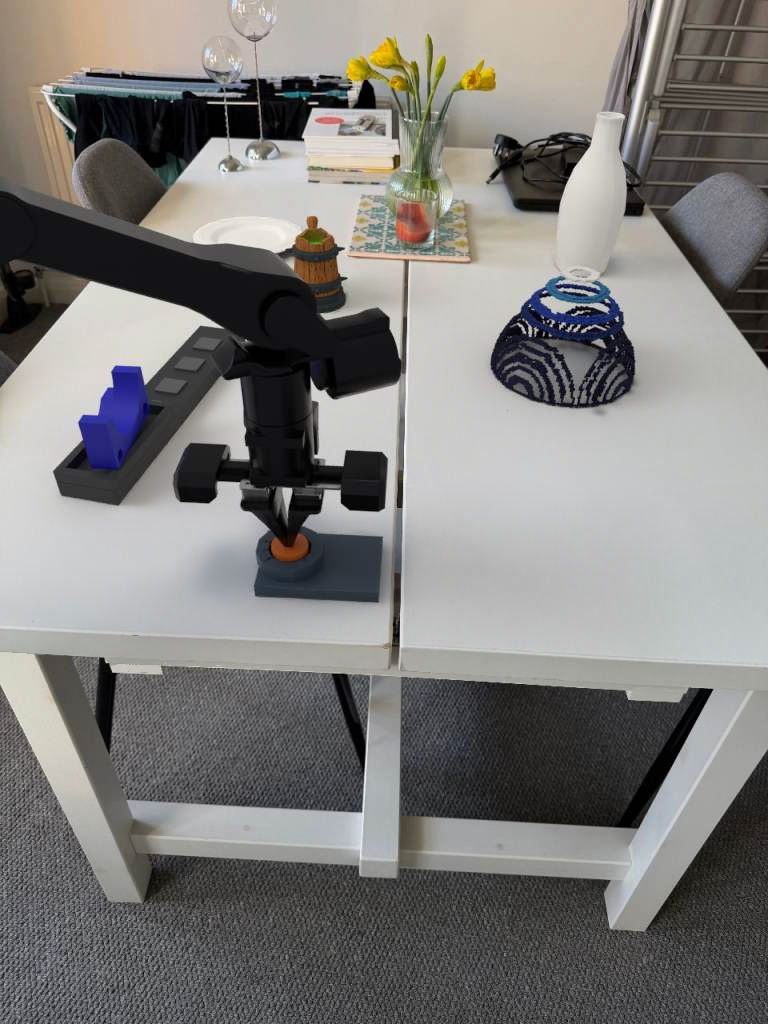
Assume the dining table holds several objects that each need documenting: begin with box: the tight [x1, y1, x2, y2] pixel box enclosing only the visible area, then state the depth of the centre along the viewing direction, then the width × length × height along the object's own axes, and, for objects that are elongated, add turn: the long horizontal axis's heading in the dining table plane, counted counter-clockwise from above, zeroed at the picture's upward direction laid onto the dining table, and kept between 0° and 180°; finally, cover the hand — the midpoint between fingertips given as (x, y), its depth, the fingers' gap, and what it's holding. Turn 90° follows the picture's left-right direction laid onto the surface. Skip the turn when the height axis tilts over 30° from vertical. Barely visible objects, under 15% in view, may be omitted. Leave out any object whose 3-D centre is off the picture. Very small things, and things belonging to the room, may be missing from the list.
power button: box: [271, 533, 309, 562], centre depth 72 cm, size 4×4×2 cm
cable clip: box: [77, 364, 150, 470], centre depth 82 cm, size 12×4×6 cm, turn 178°
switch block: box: [253, 525, 384, 603], centre depth 73 cm, size 12×8×3 cm, turn 87°
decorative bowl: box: [489, 265, 637, 409], centre depth 101 cm, size 20×20×14 cm
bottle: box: [554, 111, 628, 277], centre depth 126 cm, size 11×11×25 cm
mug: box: [285, 215, 348, 314], centre depth 119 cm, size 13×10×12 cm
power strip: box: [52, 325, 246, 506], centre depth 94 cm, size 39×7×3 cm, turn 167°
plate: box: [192, 215, 304, 255], centre depth 139 cm, size 21×21×2 cm
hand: (289, 544), depth 71 cm, fingers closed, pressing on power button
